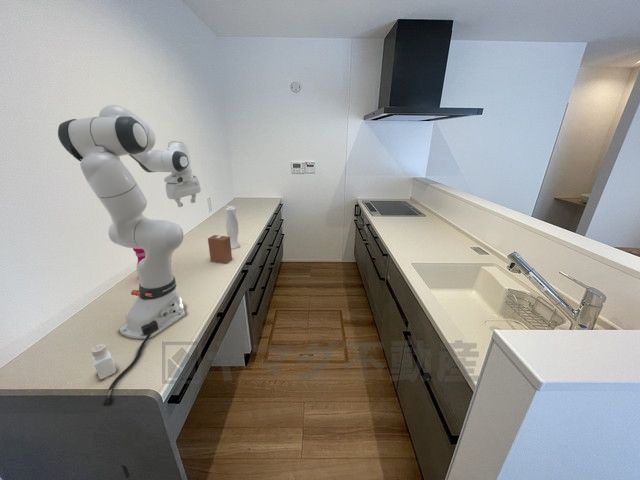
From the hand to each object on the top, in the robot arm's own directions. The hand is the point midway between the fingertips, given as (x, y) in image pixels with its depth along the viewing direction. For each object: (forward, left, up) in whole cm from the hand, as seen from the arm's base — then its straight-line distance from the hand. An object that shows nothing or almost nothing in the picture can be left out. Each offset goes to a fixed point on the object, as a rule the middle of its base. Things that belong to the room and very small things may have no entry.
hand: (187, 204), depth 133 cm
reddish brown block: (+9, -15, -27) cm, 32 cm away
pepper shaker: (-69, -21, -34) cm, 80 cm away
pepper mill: (-18, +15, -34) cm, 42 cm away
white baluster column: (+29, -6, -34) cm, 45 cm away
